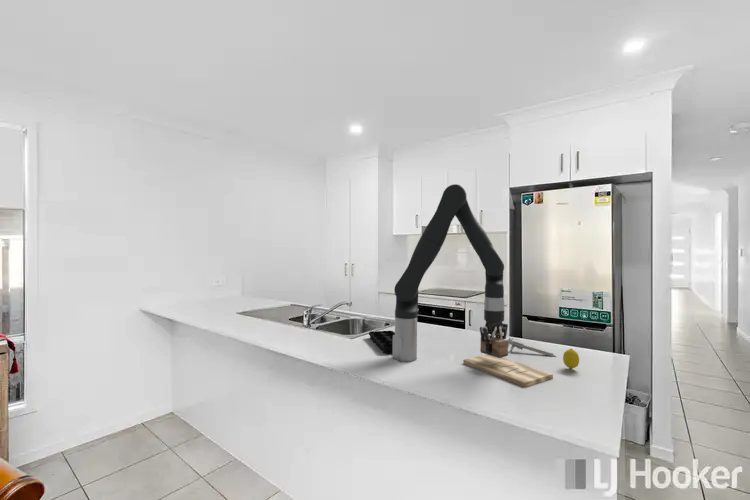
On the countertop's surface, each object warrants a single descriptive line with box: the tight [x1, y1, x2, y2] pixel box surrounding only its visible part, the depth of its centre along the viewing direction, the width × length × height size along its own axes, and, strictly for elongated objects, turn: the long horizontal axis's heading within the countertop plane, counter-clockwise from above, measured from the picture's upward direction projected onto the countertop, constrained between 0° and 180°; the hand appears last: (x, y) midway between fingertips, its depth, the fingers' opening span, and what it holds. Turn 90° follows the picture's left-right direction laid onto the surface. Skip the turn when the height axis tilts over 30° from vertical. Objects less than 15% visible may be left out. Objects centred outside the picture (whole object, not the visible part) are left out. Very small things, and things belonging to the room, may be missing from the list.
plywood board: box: [462, 354, 554, 388], centre depth 140 cm, size 16×28×2 cm, turn 32°
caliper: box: [507, 337, 557, 358], centre depth 163 cm, size 20×1×6 cm, turn 65°
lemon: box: [562, 348, 580, 370], centre depth 142 cm, size 6×6×8 cm
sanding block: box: [480, 336, 509, 358], centre depth 145 cm, size 9×5×6 cm, turn 35°
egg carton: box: [368, 330, 395, 355], centre depth 173 cm, size 18×30×4 cm, turn 27°
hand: (493, 351), depth 145 cm, fingers closed on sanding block, 5 cm apart
